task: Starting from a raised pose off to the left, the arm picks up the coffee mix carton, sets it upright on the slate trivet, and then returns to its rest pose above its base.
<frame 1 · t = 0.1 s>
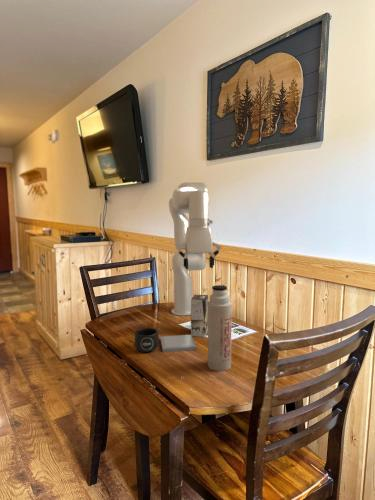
hand: (198, 268, 132), 31 cm above the table, tool pointing down, fingers open, 9 cm apart
mug: (146, 348, 135), on the table
slate trivet: (177, 344, 138), on the table
coffee box: (199, 333, 150), on the table
thermos bottle: (219, 366, 119), on the table
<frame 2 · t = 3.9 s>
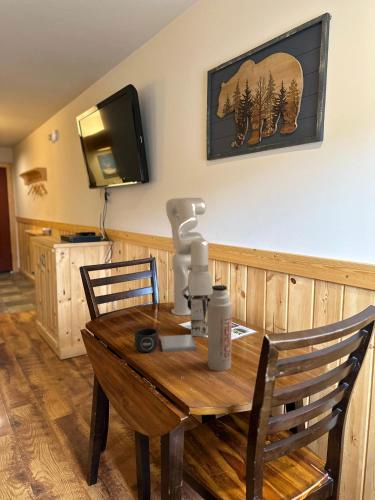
hand: (199, 308, 149), 11 cm above the table, tool pointing down, fingers closed on coffee box, 7 cm apart
coffee box: (199, 333, 150), on the table, touching gripper
everything else where it was.
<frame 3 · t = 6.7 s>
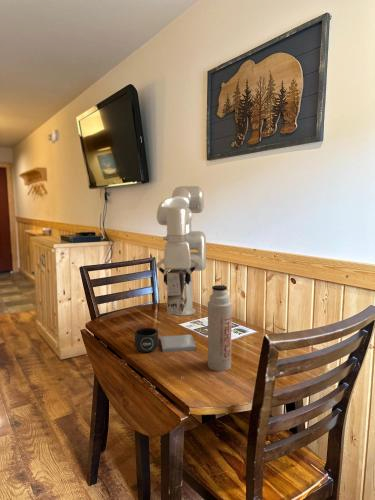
hand: (177, 283, 135), 25 cm above the table, tool pointing down, fingers closed on coffee box, 7 cm apart
coffee box: (177, 311, 136), point 14 cm above the table, touching gripper
everything else where it was.
when the fingers open (13 cm above the table, at t = 9.8 s): coffee box stays where it is, resting on slate trivet.
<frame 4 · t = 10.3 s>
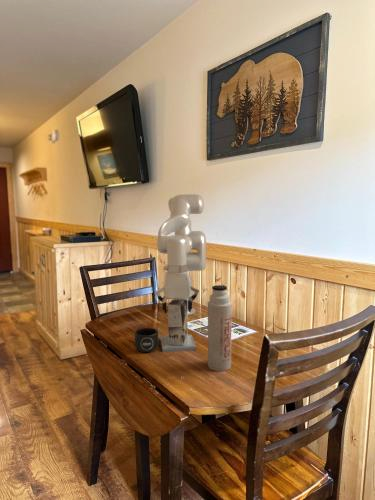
hand: (177, 311, 136), 14 cm above the table, tool pointing down, fingers open, 9 cm apart
coffee box: (178, 341, 138), point 1 cm above the table, touching slate trivet
everything else where it was.
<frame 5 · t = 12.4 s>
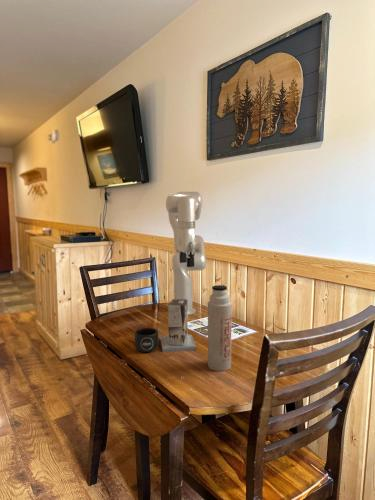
hand: (186, 264, 150), 30 cm above the table, tool pointing down, fingers open, 9 cm apart
nothing on the table moved.
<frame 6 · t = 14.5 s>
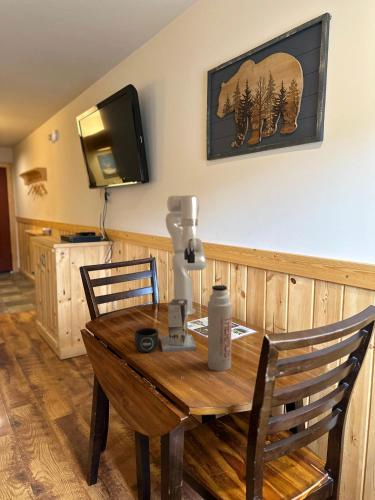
hand: (189, 261, 155), 30 cm above the table, tool pointing down, fingers open, 9 cm apart
nothing on the table moved.
at the end: coffee box inside the target area on the slate trivet (0.4 cm from its centre), point 1.1 cm above the slate trivet's base; coffee box tilted 0°; the gripper is holding nothing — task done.
